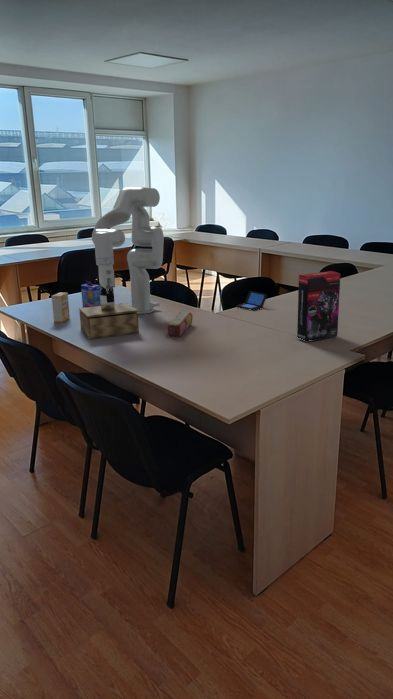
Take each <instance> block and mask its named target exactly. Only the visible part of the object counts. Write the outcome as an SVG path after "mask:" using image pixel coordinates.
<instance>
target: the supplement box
mask: <svg viewBox="0 0 393 699" xmlns="http://www.w3.org/2000/svg"><path fill="white" fill-rule="evenodd" d="M68 294H69V292H57V293H55V294H52V295H51V304H52V305H51V306H52V314H53V323H65V322H67V320H70V318H71V317H70V304H69V303H70V302H69V295H68Z"/></svg>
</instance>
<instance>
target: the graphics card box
mask: <svg viewBox="0 0 393 699" xmlns="http://www.w3.org/2000/svg"><path fill="white" fill-rule="evenodd" d="M340 287H341V273H340V272H336V271H333V270H329V271H322V272H321V271H320V272H313V273H303V274H299V275H298V290H297V291H298V295H297V296H298V297H297V299H298V300H297V303H298V304H297V328H296V329H297V330H296V333H297V335H296V338H297V337H298V338H301V339H303V340H305V341H309V340H315V341H319V340H323V339H330V338H334V337H337V336H338V334H339V333H338V330H339V314H340V311H339V309H340V308H339V307H340V289H341V288H340Z"/></svg>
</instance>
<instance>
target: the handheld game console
mask: <svg viewBox="0 0 393 699" xmlns="http://www.w3.org/2000/svg"><path fill="white" fill-rule="evenodd" d="M267 297H268V295H267V294H266V293H262V292H258V291H253V290H250V291H248V294H247V296H246V298H245V301H244V302H243V303H240V304H236V308H238V309H239V307H240V309H242V308H246V309H251V310H256V309H260V308H263V309H264V305H265V302H266V300H267ZM246 309H245V310H246ZM251 310H250V311H251ZM260 310H261V309H260ZM256 311H257V310H256Z"/></svg>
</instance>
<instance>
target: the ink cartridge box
mask: <svg viewBox="0 0 393 699" xmlns="http://www.w3.org/2000/svg"><path fill="white" fill-rule="evenodd" d="M80 293H81V294H80V295H81V300H82V308H87V307H96V306H101V302H100V296H101V285H100V284H99V285H98V284H93V283H92V282H91V281H90V280H89V281H87V280H85V283H84V284H81V285H80Z"/></svg>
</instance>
